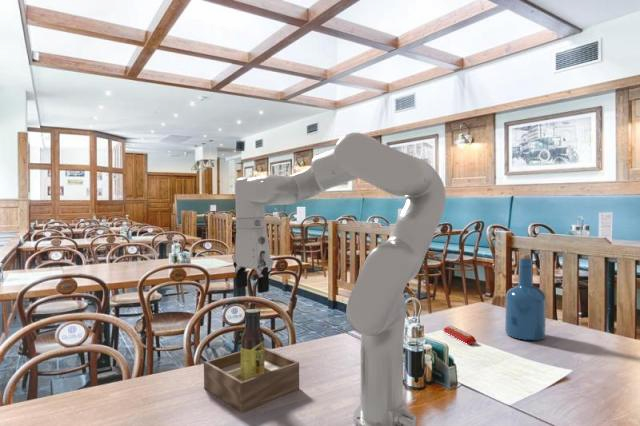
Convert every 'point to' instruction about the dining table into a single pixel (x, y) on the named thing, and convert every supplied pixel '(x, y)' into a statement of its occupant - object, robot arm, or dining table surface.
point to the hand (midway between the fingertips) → (252, 289)
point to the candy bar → (460, 334)
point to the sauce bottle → (252, 347)
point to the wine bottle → (525, 306)
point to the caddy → (250, 380)
